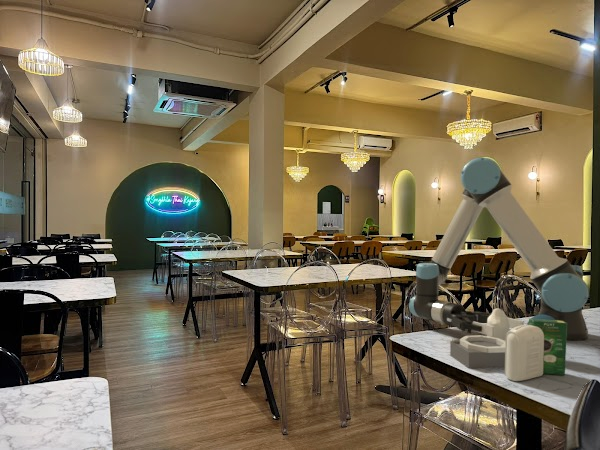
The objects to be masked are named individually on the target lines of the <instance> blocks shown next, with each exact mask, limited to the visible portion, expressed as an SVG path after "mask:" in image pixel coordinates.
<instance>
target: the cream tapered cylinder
mask: <svg viewBox="0 0 600 450" xmlns="http://www.w3.org/2000/svg"><path fill="white" fill-rule="evenodd" d="M491 313H492V314H491V315H490V316H489V317H488V319H487V323H486V325H490V326H494V336H489V335H486V336H488V337H494V338H499V339H502V340H504V341H506V334H507V333H508V332H509V331H510V328H509V319H508V318H509V317H508V316H507V315H506V313H505V311H504V310H503V309H500V308H499V307H497V308H494V309H493V310H492V312H491ZM507 317H508V318H507Z"/></svg>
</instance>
